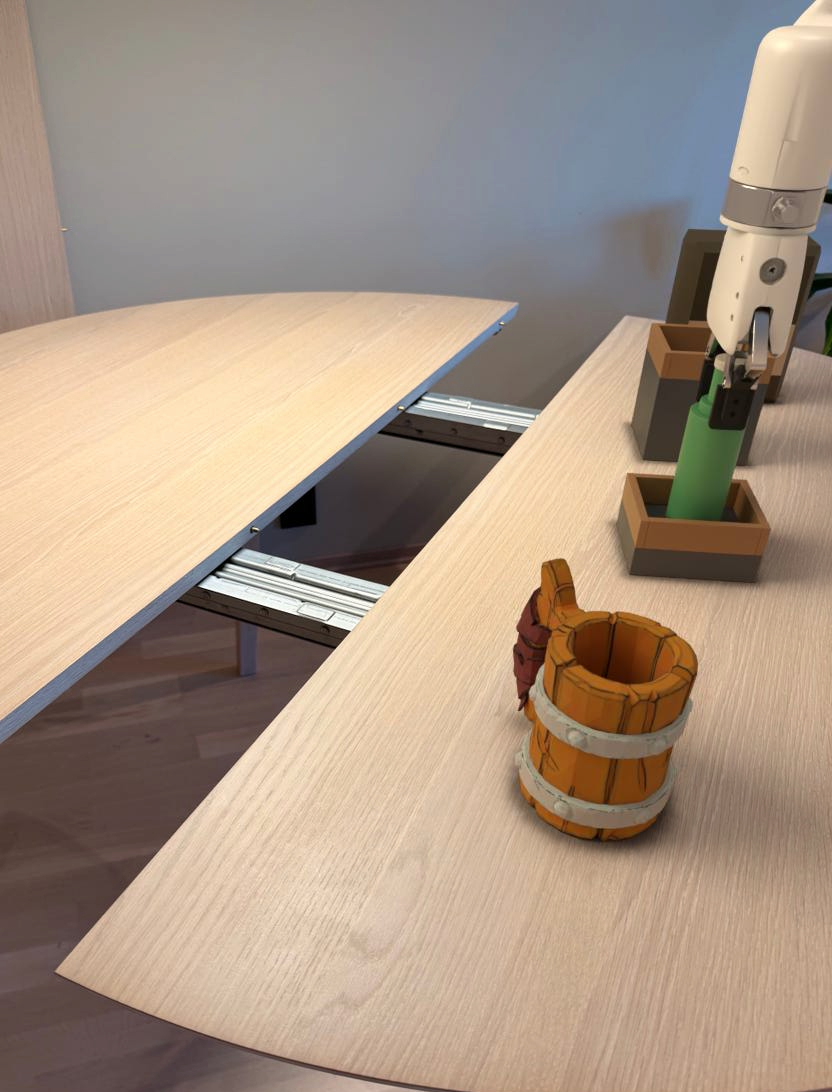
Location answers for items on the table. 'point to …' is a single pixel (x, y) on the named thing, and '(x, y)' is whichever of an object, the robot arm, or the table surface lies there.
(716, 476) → the green bottle
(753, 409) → the grey storage bin
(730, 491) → the shallow open tray
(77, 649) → the table surface
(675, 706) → the mug
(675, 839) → the table surface
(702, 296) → the dark boxy piece
